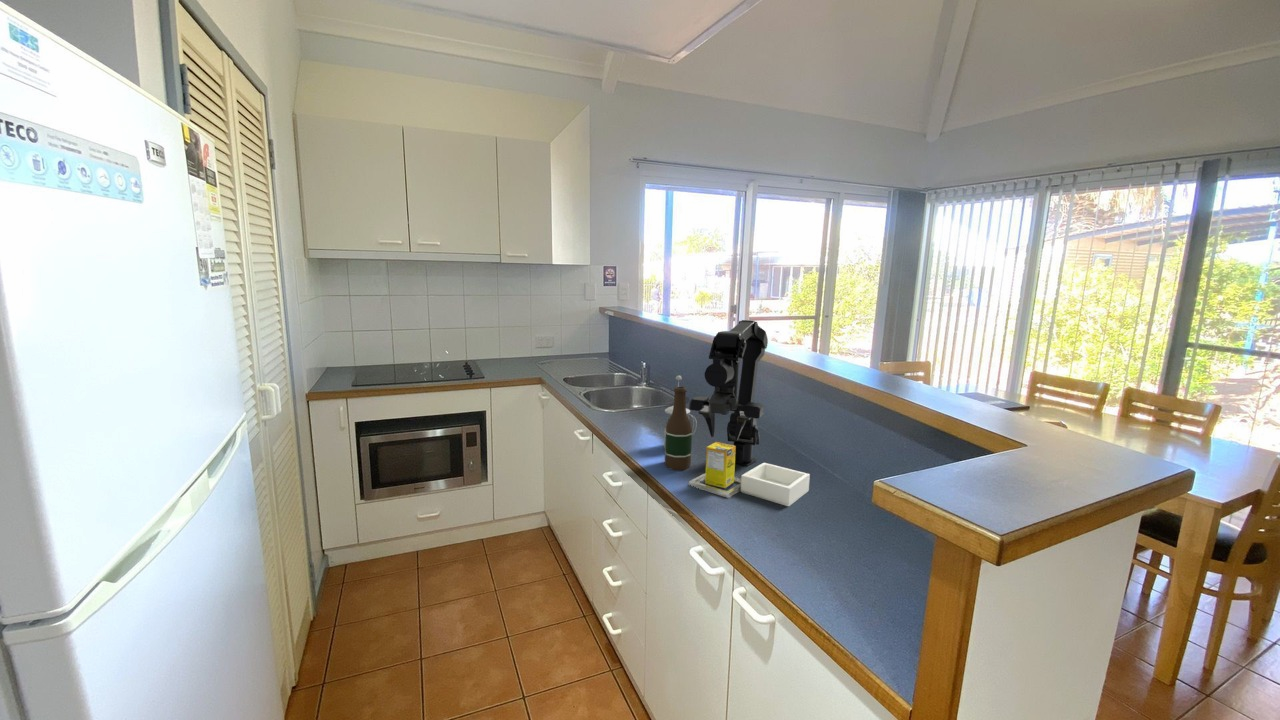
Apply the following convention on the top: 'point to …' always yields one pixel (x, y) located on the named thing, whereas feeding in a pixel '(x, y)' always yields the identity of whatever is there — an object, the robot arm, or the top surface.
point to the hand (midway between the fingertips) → (724, 438)
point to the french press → (670, 410)
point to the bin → (775, 483)
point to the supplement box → (720, 465)
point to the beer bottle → (678, 434)
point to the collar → (715, 490)
